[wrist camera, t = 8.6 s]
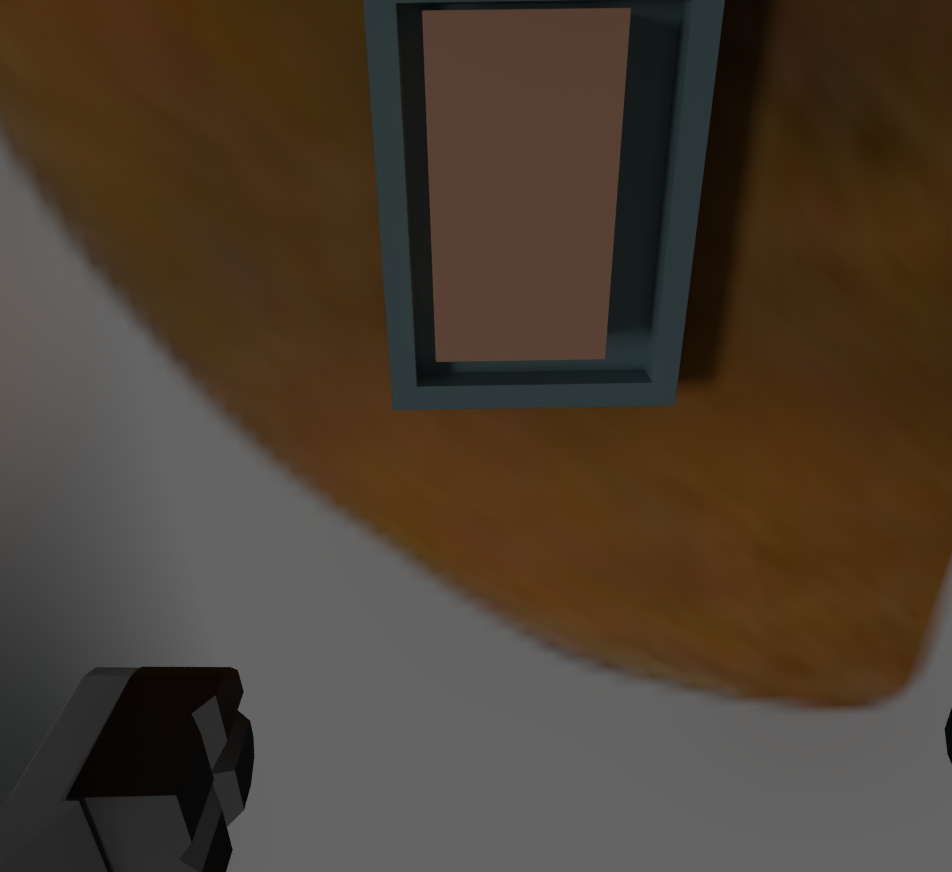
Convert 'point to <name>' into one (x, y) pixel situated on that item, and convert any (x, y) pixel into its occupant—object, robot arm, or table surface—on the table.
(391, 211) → the tray
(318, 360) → the table surface
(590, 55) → the ticket
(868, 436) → the table surface
